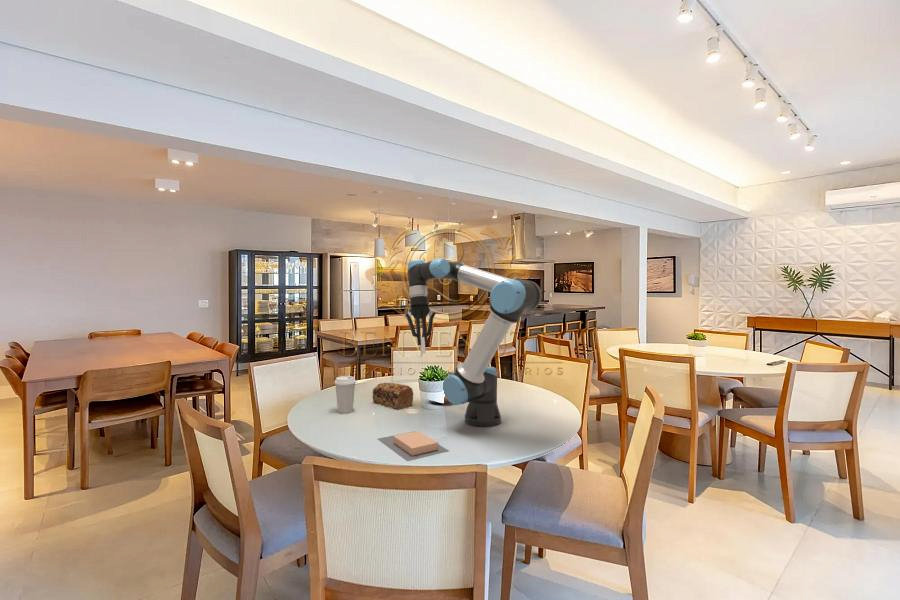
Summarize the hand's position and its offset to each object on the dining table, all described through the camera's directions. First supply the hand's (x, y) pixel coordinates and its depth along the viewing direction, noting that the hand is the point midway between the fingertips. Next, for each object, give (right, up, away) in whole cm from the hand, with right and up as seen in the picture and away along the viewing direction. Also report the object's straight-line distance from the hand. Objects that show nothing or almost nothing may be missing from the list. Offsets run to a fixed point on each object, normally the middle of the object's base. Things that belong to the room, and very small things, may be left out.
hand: (423, 353), depth 177 cm
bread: (-16, -28, +27) cm, 43 cm away
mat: (-2, -29, -27) cm, 40 cm away
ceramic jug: (+8, -28, +32) cm, 43 cm away
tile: (-5, -27, -23) cm, 36 cm away
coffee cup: (-36, -28, +16) cm, 48 cm away
